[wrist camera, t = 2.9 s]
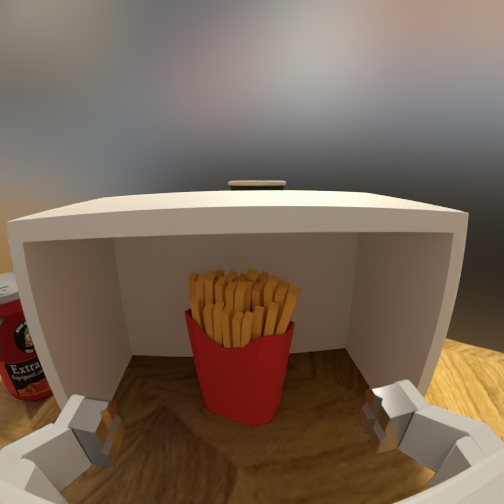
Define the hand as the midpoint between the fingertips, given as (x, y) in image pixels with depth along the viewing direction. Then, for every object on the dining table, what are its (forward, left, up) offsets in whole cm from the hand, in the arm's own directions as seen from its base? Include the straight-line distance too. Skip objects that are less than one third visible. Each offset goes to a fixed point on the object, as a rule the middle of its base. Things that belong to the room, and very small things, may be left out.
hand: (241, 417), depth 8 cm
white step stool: (0, +13, -11) cm, 18 cm away
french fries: (0, +12, -12) cm, 17 cm away
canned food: (-22, +13, -12) cm, 28 cm away
